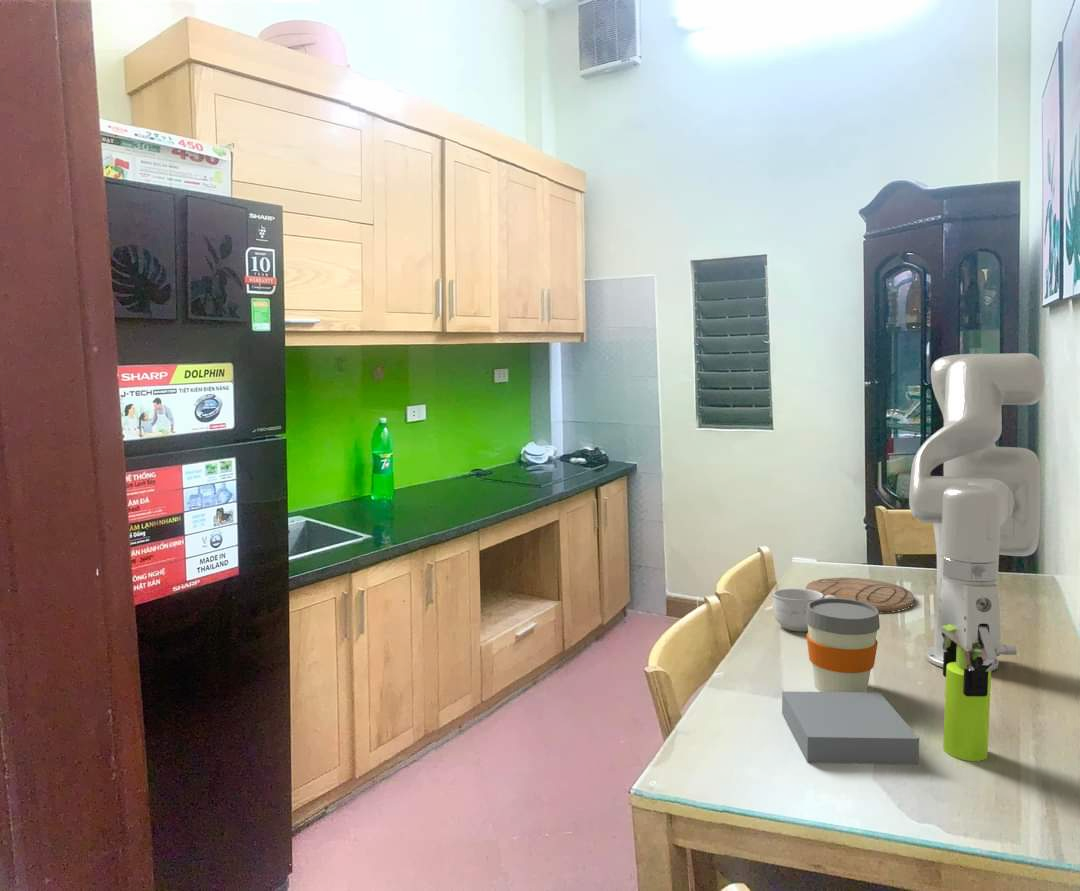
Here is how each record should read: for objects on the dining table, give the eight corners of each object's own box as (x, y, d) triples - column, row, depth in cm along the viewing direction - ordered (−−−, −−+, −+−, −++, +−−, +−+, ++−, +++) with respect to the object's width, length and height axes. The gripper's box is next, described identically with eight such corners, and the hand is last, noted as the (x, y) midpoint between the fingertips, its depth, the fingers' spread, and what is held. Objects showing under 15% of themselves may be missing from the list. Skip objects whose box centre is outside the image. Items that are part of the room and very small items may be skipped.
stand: (879, 715, 130) (879, 692, 130) (918, 764, 114) (919, 738, 114) (782, 714, 131) (782, 691, 131) (807, 762, 116) (807, 736, 115)
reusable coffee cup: (852, 671, 149) (854, 595, 147) (893, 699, 136) (895, 616, 135) (791, 677, 146) (792, 600, 145) (827, 706, 134) (828, 622, 133)
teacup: (770, 632, 171) (770, 597, 170) (775, 617, 181) (775, 584, 180) (838, 640, 165) (838, 603, 164) (839, 623, 175) (839, 589, 174)
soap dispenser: (928, 743, 120) (933, 619, 118) (971, 740, 121) (976, 616, 119) (951, 763, 115) (957, 632, 112) (996, 760, 115) (1002, 630, 113)
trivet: (793, 603, 191) (793, 596, 191) (820, 579, 212) (821, 572, 211) (903, 621, 177) (903, 613, 177) (921, 593, 197) (922, 586, 197)
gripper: (1027, 585, 106) (1021, 712, 108) (967, 554, 123) (963, 664, 125) (970, 585, 106) (965, 711, 108) (918, 554, 124) (915, 663, 125)
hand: (964, 684), depth 117 cm, fingers closed on soap dispenser, 5 cm apart
